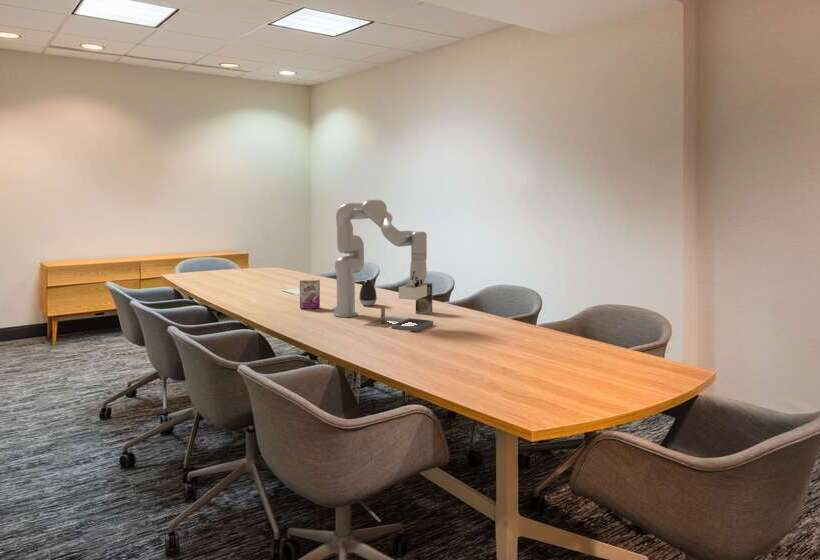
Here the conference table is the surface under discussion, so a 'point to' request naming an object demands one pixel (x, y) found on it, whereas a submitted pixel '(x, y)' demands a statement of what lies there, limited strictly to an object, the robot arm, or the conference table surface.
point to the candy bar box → (309, 293)
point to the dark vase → (367, 293)
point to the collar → (412, 292)
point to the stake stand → (380, 321)
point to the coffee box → (425, 302)
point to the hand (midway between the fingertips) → (418, 293)
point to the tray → (416, 328)
